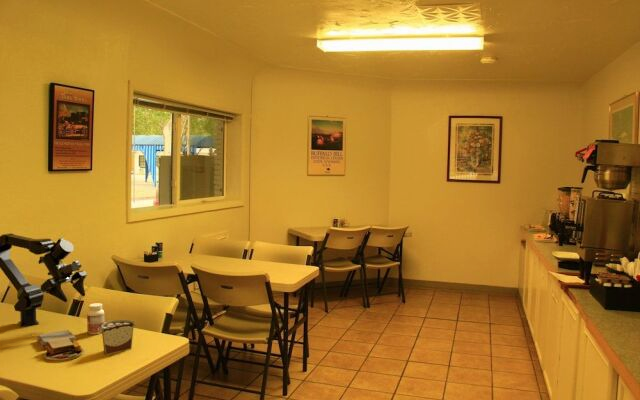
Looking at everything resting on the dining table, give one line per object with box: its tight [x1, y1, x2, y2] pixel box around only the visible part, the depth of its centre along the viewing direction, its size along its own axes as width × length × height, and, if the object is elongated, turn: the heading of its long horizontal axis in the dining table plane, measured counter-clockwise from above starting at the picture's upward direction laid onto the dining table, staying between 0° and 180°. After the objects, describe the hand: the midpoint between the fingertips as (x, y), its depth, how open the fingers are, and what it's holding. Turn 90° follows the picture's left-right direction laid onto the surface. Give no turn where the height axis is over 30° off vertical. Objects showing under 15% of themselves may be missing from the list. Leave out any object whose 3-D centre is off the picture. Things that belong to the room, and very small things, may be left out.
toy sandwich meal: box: [43, 337, 85, 362], centre depth 182 cm, size 12×14×5 cm
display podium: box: [36, 329, 78, 351], centre depth 194 cm, size 11×11×2 cm
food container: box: [100, 319, 136, 356], centre depth 188 cm, size 12×6×10 cm, turn 134°
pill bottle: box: [86, 302, 105, 335], centre depth 206 cm, size 6×6×11 cm
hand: (75, 298), depth 206 cm, fingers open, 9 cm apart
